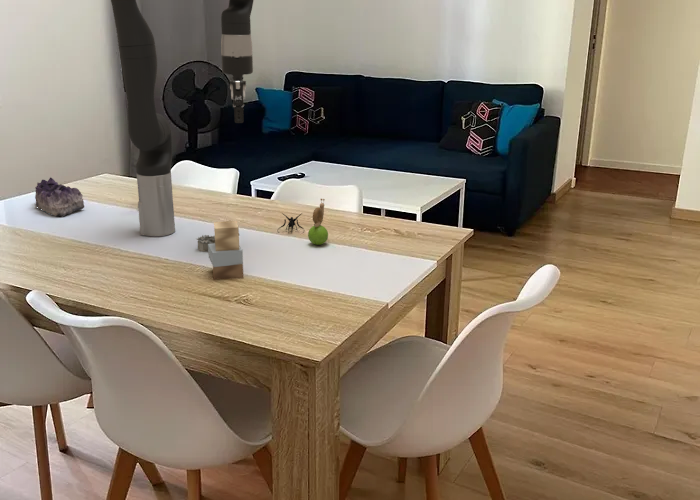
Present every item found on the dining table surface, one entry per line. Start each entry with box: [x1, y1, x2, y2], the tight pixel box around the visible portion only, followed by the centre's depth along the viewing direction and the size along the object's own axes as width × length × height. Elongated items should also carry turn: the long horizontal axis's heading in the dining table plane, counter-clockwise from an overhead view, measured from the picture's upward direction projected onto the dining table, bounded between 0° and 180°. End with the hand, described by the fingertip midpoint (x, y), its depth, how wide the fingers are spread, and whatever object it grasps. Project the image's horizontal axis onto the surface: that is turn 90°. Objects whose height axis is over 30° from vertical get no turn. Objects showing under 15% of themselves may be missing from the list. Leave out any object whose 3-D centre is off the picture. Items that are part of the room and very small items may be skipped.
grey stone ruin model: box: [196, 234, 215, 252], centre depth 193 cm, size 10×7×4 cm
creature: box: [277, 212, 305, 234], centre depth 207 cm, size 8×5×8 cm
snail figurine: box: [307, 198, 329, 246], centre depth 195 cm, size 5×6×12 cm
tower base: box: [212, 263, 244, 281], centre depth 175 cm, size 7×7×4 cm
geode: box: [34, 176, 85, 217], centre depth 226 cm, size 20×12×10 cm, turn 50°
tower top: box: [207, 243, 244, 268], centre depth 174 cm, size 7×7×4 cm
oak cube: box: [213, 220, 240, 251], centre depth 172 cm, size 6×6×6 cm
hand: (239, 120), depth 183 cm, fingers open, 8 cm apart
